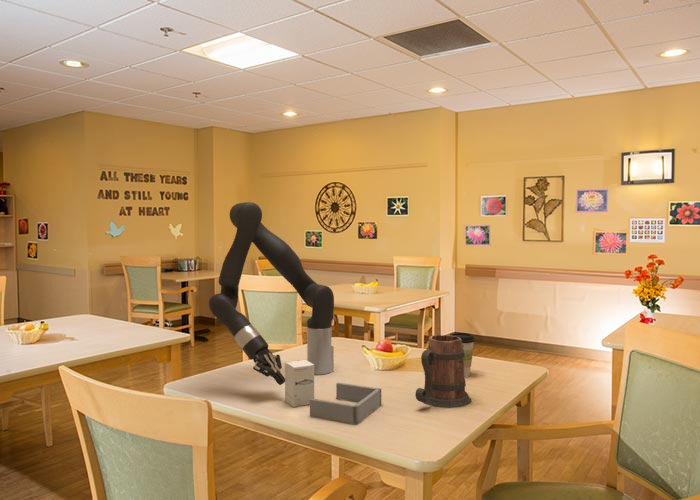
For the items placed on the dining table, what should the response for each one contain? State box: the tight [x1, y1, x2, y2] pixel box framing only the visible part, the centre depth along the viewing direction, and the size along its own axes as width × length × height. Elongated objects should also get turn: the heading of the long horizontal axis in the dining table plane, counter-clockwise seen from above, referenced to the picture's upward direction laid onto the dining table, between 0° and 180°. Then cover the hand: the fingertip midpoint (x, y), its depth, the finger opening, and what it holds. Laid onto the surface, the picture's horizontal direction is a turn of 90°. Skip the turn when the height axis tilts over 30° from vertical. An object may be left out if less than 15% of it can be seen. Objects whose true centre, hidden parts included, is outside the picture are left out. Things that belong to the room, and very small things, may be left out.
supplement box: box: [284, 359, 315, 408], centre depth 169 cm, size 7×7×13 cm
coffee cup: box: [449, 332, 476, 378], centre depth 199 cm, size 10×10×15 cm
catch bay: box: [309, 381, 382, 426], centre depth 162 cm, size 15×18×5 cm
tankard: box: [415, 334, 472, 409], centre depth 170 cm, size 24×17×20 cm
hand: (283, 383), depth 172 cm, fingers closed
